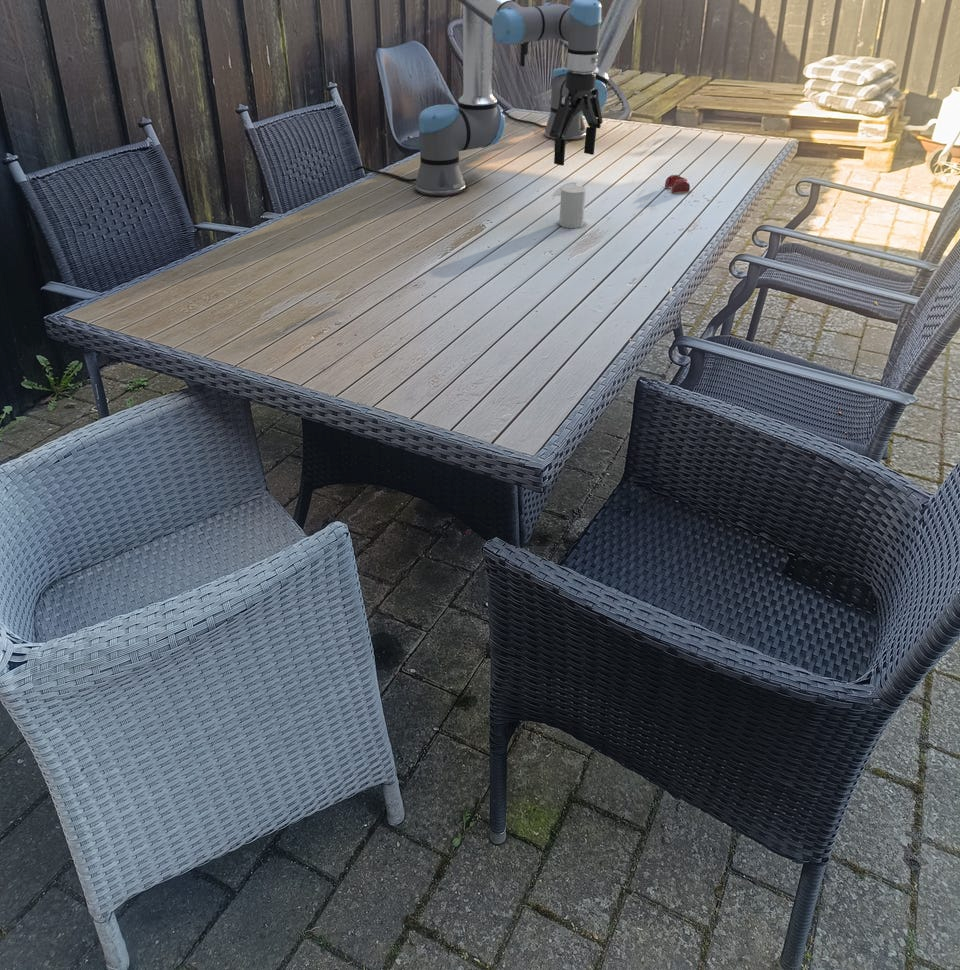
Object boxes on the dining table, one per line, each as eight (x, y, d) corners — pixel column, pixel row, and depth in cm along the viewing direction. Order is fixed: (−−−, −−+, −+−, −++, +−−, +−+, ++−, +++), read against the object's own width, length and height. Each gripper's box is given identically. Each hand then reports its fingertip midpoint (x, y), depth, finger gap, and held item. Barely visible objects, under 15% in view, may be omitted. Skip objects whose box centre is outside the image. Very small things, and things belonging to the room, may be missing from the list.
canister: (561, 219, 236) (563, 184, 230) (585, 221, 235) (587, 186, 229) (557, 227, 231) (559, 191, 225) (581, 229, 229) (583, 193, 224)
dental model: (681, 171, 259) (692, 178, 253) (679, 184, 262) (690, 192, 256) (664, 173, 258) (675, 180, 252) (662, 186, 261) (673, 194, 255)
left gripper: (563, 81, 201) (557, 172, 213) (621, 66, 216) (612, 152, 229) (538, 76, 204) (534, 166, 217) (597, 62, 220) (589, 146, 232)
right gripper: (467, -6, 261) (467, 70, 274) (544, -7, 266) (541, 67, 278) (462, -8, 267) (463, 66, 280) (538, -10, 272) (535, 63, 284)
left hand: (574, 159), depth 223 cm, fingers open, 13 cm apart
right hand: (502, 66), depth 279 cm, fingers open, 13 cm apart
